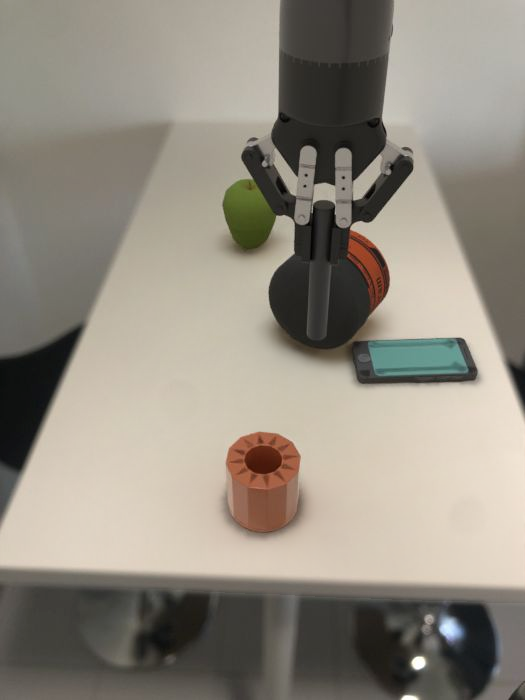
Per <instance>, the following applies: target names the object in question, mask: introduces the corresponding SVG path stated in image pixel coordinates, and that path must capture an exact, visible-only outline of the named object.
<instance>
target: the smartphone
mask: <svg viewBox="0 0 525 700" xmlns="http://www.w3.org/2000/svg"><path fill="white" fill-rule="evenodd" d="M351 353H352V358H353V362H354V367H355V368H354V369H355V372H356V375H357V376H356V377H357V381H358V382H359V383H361V384H385V383H387V384H388V383H389V384H390V383H413V382H417V383H419V382H442V381H445V382H446V381H447V382H448V381H471V380H476V379H477V376H478V374H479V373H478V372H479V369H478V368H477V365H476V362H475V360H474V358H473V356H472V353H471V350H470V348H469V346H468V344H467V341H466V340H465V338H463V337H433V338H432V337H431V338H404V339H403V338H402V339H401V338H400V339H372V340H371V339H370V340H354V341H352V343H351Z"/></svg>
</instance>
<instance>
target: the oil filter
mask: <svg viewBox="0 0 525 700" xmlns="http://www.w3.org/2000/svg"><path fill="white" fill-rule="evenodd" d="M301 260H302V256H296V254H295V253H293V254H292V255H291V256H289V257H288V258H287V259H286V260H285V261H284V262H283V263H282V264H280V265H279V266H278V267H277V268H276V269H275V271H274V272H273V274H272V276H271V278H270V281H269V285H268V292H267V293H268V295H267V296H268V303H269V307H270V310H271V313H272V315H273V317H274V319H275V321H276V322H277V324H278V325H279V326H280V328H281V329H282V330H283V332H285V334H286V335H288V337H290V338H291V339H293V340H294V341H296V342H298V344H300V345H303V346H305V347H308V348H311V349H314V350H334V349H337V348H340V347H342V346H344V345H345V344H348V343H349V342H350V341H351V340H352V339H353V337H355V336H356V334H357V333H358V332H359V331H360V330H361V329H362V327H363V326H364V325H365V324H366V322H367V321H368V318H369V317H370V316H371V315H372V314H373V313H374V311H375V310H377V308H378V307H379V306H380V304H382V303H383V301H384V300H385V298H386V297H387V295H388V293H389V290H390V286H391V276H390V269H389V266H388V263H387V261H386V258H385V257H384V255H383V254H382V252H381V251H380V250H379V248H378V246H377V245H375V244H374V243H373V242H372V241H371V240H370V239H369V238H368V237H366V236H364V235H363V234H361V233H359V232H358V231H355V230H352V229H350V238H349V248H348V255H347V257H346V259H345V260H342V259H339V264H338V266H336V265H331V276H330V290H329V304H328V318H327V332H326V337H325V338H324V339H322V340H312V339H310V338H309V337H308V336H307V317H308V297H309V276H310V263H302V262H301Z"/></svg>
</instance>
